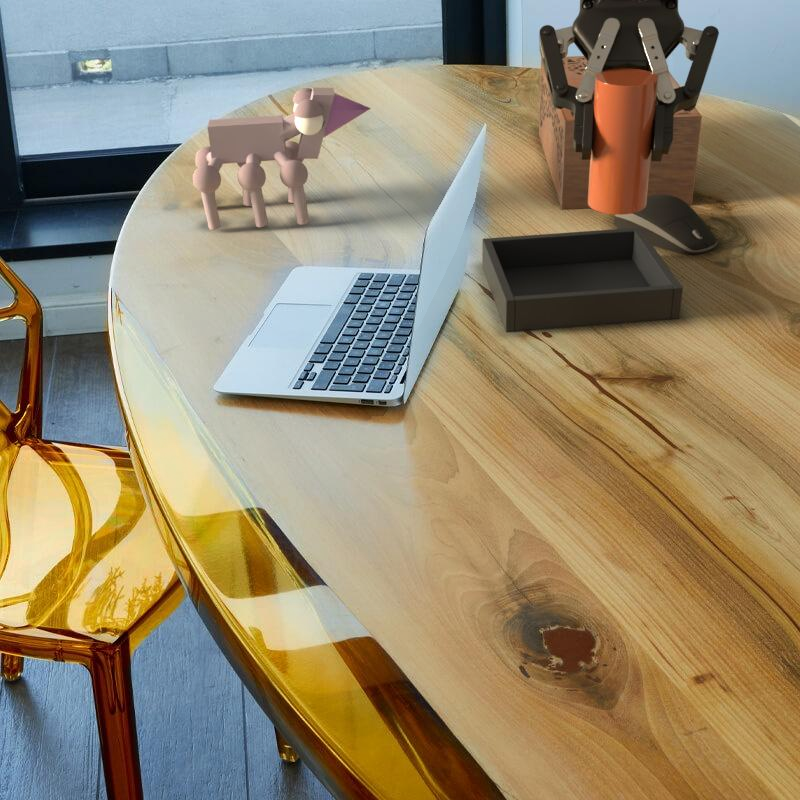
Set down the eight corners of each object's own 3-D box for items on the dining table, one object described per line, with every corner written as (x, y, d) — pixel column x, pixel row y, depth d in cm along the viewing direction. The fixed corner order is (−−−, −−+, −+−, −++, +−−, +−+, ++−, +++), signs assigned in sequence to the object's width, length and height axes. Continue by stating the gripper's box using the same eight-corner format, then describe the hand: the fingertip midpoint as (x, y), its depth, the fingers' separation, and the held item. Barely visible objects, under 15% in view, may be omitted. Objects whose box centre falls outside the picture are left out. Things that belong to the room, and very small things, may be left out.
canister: (637, 190, 87) (648, 66, 82) (653, 212, 84) (666, 83, 78) (581, 194, 87) (588, 70, 82) (595, 216, 83) (604, 87, 78)
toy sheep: (373, 190, 127) (367, 74, 120) (379, 225, 118) (373, 102, 111) (202, 202, 126) (186, 85, 119) (196, 238, 117) (177, 114, 110)
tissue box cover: (691, 204, 120) (701, 116, 114) (561, 209, 120) (565, 120, 115) (649, 131, 141) (655, 53, 136) (538, 134, 142) (541, 57, 137)
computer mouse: (680, 267, 106) (684, 230, 104) (598, 228, 115) (600, 192, 113) (731, 250, 109) (736, 213, 107) (647, 213, 118) (650, 178, 116)
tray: (637, 262, 108) (640, 227, 106) (678, 326, 96) (683, 287, 94) (482, 273, 107) (482, 238, 105) (505, 339, 95) (506, 300, 93)
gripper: (538, -74, 82) (525, 132, 79) (732, -77, 80) (727, 135, 77) (539, -16, 90) (527, 175, 86) (716, -17, 87) (712, 179, 84)
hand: (622, 155), depth 81 cm, fingers closed on canister, 4 cm apart
